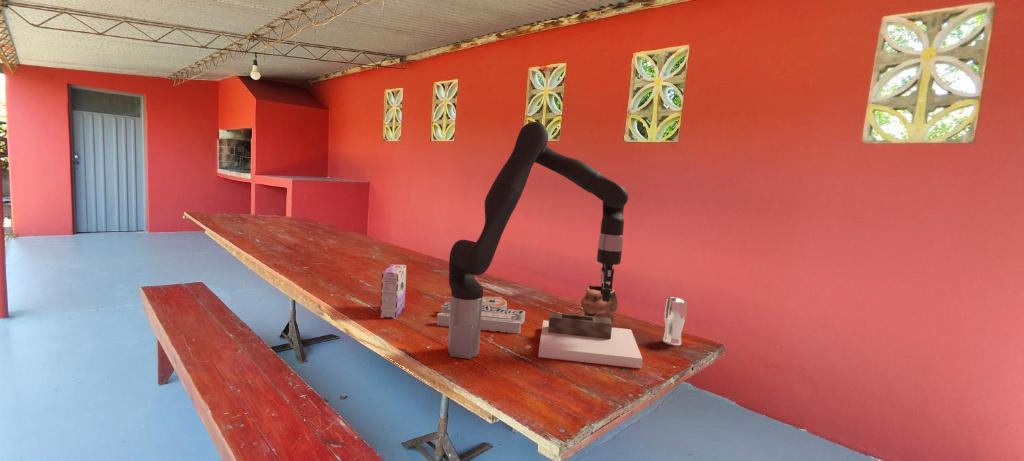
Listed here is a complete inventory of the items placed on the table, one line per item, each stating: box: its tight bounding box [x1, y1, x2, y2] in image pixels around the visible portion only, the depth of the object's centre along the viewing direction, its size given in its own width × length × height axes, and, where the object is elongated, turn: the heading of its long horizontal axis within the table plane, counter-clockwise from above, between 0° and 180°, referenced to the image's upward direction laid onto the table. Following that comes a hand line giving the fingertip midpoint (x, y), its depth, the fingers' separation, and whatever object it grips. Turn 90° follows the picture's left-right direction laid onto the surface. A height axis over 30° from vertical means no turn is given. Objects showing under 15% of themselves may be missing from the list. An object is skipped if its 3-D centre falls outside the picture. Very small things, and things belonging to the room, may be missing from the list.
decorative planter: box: [580, 285, 619, 323], centre depth 180 cm, size 20×12×14 cm, turn 148°
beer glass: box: [662, 296, 688, 347], centre depth 166 cm, size 7×7×15 cm
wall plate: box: [538, 320, 643, 369], centre depth 157 cm, size 26×30×6 cm
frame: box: [548, 311, 613, 339], centre depth 161 cm, size 20×6×5 cm, turn 84°
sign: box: [436, 296, 526, 334], centre depth 181 cm, size 30×4×30 cm
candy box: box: [379, 263, 407, 320], centre depth 176 cm, size 14×6×16 cm, turn 0°
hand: (604, 297), depth 158 cm, fingers open, 8 cm apart
